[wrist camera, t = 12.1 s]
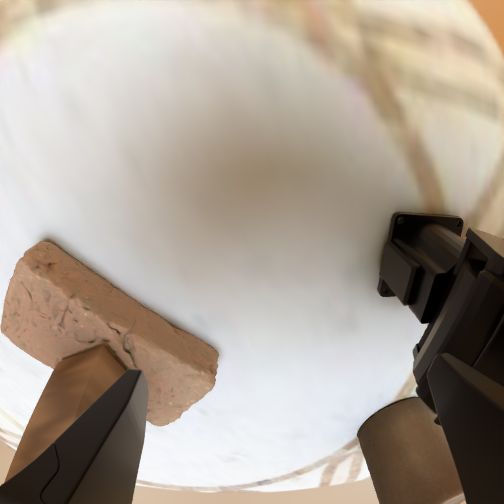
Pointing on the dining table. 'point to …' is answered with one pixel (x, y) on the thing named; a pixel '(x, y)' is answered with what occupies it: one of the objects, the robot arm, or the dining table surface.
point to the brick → (103, 329)
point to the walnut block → (65, 401)
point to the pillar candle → (409, 456)
